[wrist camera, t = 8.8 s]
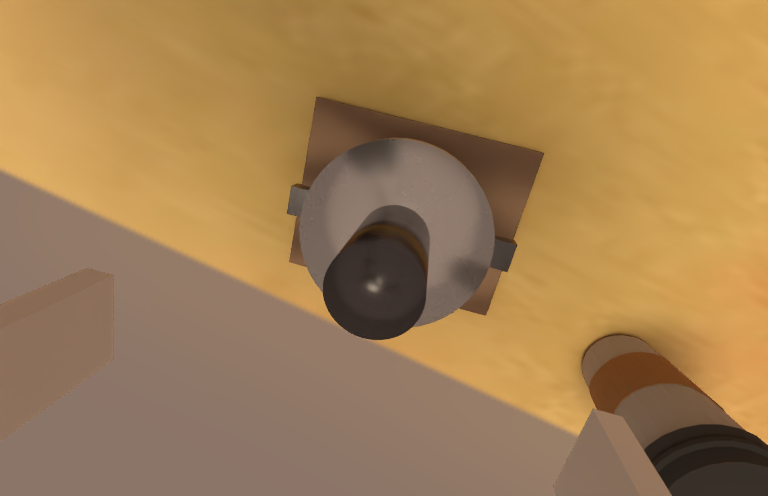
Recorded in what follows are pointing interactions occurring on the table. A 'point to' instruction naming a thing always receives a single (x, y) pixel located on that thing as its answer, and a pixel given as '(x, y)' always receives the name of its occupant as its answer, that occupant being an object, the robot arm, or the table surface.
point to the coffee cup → (675, 421)
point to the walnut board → (479, 155)
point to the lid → (395, 236)
